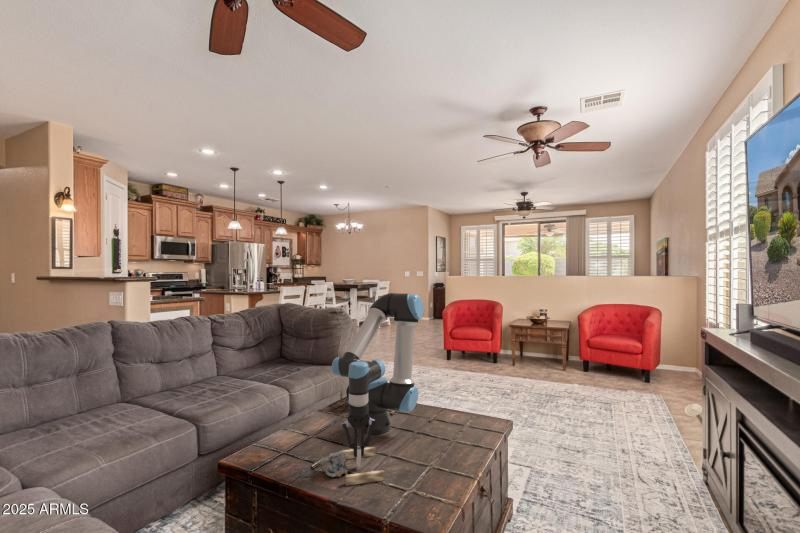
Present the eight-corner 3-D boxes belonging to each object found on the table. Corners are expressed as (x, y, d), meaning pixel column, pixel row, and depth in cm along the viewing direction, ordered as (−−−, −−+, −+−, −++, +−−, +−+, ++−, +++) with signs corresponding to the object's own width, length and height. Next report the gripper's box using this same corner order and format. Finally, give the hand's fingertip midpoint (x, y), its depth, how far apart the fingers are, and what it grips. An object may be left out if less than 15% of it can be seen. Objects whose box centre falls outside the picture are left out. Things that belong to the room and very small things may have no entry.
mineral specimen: (332, 490, 140) (341, 469, 150) (347, 480, 138) (354, 459, 147) (313, 473, 140) (323, 453, 149) (327, 462, 137) (336, 442, 146)
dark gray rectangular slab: (314, 470, 145) (314, 469, 145) (314, 476, 141) (314, 475, 141) (300, 472, 144) (300, 471, 144) (300, 477, 140) (300, 477, 140)
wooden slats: (374, 453, 158) (374, 446, 158) (384, 480, 138) (384, 471, 138) (340, 458, 154) (340, 450, 154) (345, 485, 135) (345, 477, 135)
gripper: (373, 398, 151) (373, 457, 151) (340, 401, 148) (340, 461, 148) (377, 405, 144) (377, 467, 144) (342, 408, 141) (342, 472, 141)
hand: (358, 464), depth 146 cm, fingers closed
